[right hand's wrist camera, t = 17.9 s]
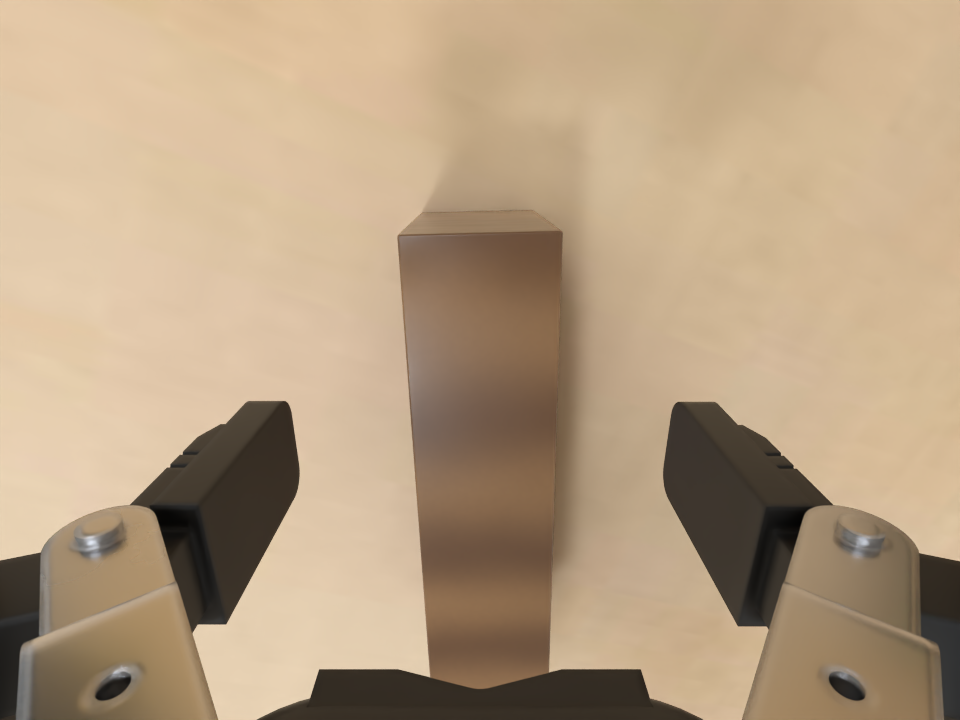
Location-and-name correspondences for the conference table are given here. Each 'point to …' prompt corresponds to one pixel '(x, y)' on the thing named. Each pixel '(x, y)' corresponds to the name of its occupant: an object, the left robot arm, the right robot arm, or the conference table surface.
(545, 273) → the bar
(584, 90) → the conference table surface
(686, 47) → the conference table surface
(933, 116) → the conference table surface
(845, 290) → the conference table surface
